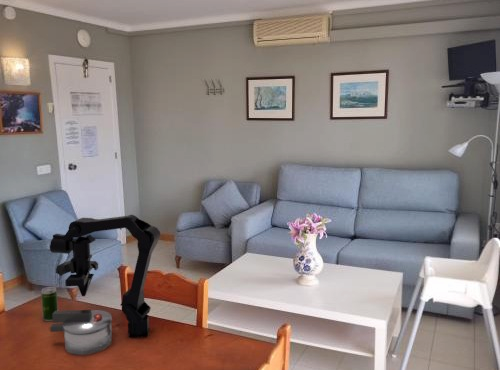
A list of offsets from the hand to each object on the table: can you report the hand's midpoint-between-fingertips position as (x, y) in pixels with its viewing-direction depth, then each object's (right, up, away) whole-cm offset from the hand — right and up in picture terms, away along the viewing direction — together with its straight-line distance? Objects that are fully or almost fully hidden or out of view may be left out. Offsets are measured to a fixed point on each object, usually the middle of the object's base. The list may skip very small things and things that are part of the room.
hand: (83, 295), depth 158 cm
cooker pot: (+2, -14, -8) cm, 16 cm away
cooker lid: (+3, -7, -9) cm, 12 cm away
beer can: (-17, -12, +11) cm, 23 cm away
